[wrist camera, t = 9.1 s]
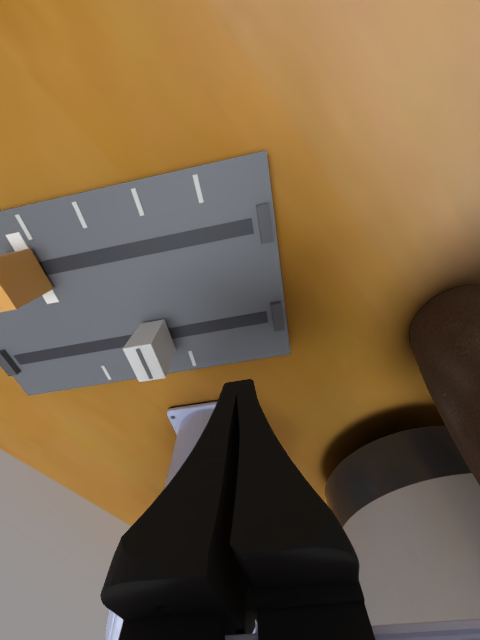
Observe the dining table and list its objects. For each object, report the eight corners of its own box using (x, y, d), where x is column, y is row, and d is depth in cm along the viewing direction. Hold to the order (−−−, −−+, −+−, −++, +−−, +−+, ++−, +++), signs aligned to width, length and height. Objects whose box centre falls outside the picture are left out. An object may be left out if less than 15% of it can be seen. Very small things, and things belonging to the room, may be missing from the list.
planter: (286, 459, 31) (334, 733, 16) (435, 371, 25) (771, 687, 9) (369, 514, 38) (463, 748, 22) (504, 456, 31) (772, 727, 16)
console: (287, 344, 23) (291, 357, 21) (39, 384, 25) (24, 399, 23) (264, 153, 16) (267, 149, 14) (-76, 230, 18) (-110, 235, 16)
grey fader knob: (176, 350, 21) (165, 378, 18) (153, 353, 21) (138, 383, 18) (164, 319, 20) (150, 344, 17) (140, 323, 20) (121, 349, 17)
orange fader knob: (53, 288, 19) (15, 310, 15) (28, 293, 19) (-14, 315, 15) (30, 248, 17) (-18, 262, 14) (3, 253, 17) (-49, 268, 14)
